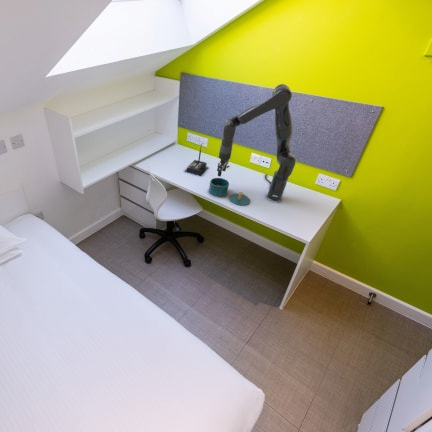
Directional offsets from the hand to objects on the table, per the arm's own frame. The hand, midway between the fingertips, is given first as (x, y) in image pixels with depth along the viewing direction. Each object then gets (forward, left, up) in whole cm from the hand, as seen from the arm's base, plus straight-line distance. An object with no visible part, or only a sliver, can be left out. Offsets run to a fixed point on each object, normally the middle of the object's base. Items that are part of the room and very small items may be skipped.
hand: (221, 173), depth 199 cm
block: (0, 0, -15) cm, 15 cm away
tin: (0, 0, -15) cm, 15 cm away
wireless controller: (-25, -27, -16) cm, 40 cm away
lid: (+1, +16, -15) cm, 22 cm away
